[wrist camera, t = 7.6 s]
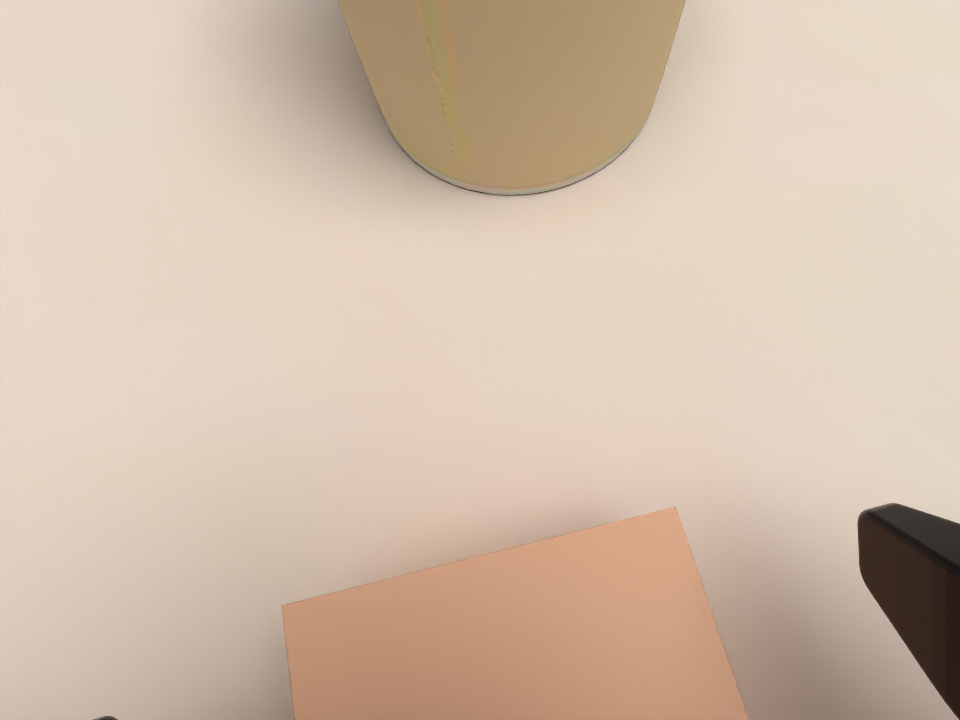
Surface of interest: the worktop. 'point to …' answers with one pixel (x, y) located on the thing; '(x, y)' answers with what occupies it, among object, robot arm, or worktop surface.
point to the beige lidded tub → (513, 83)
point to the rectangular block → (522, 636)
